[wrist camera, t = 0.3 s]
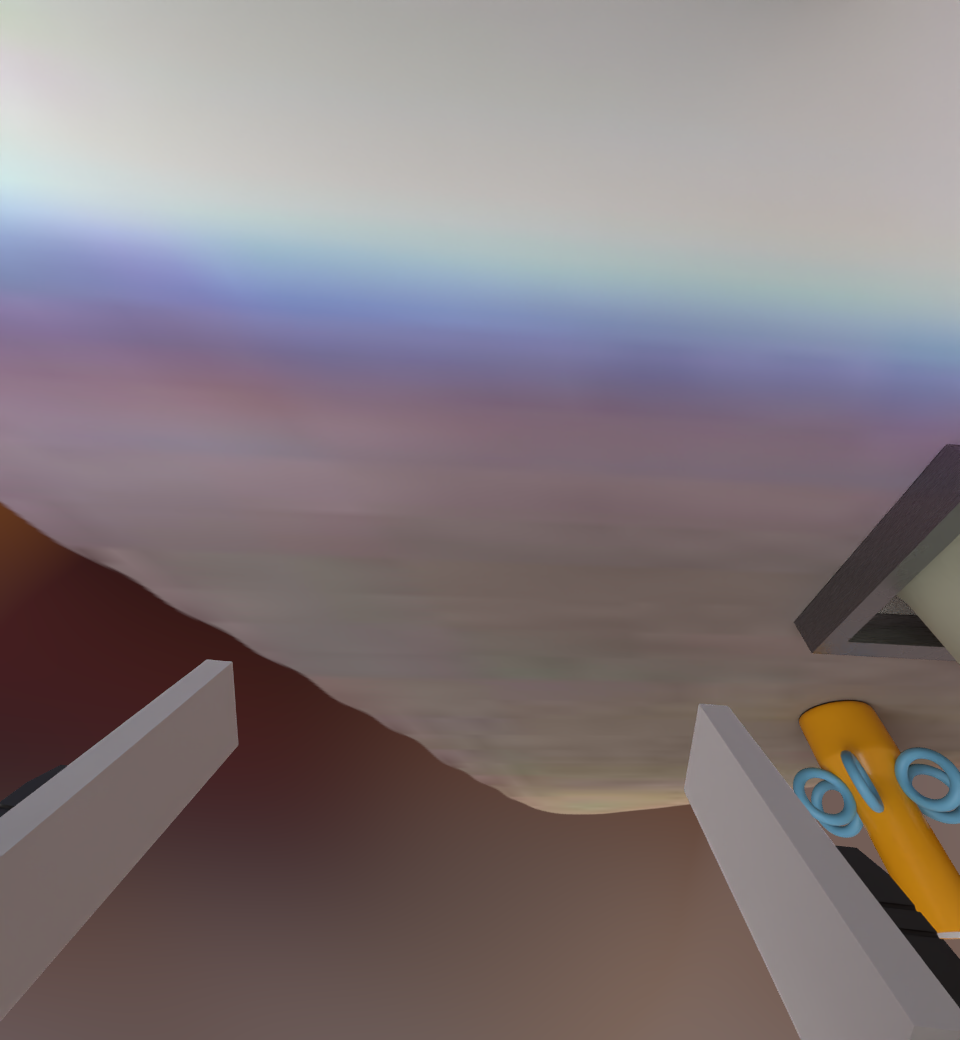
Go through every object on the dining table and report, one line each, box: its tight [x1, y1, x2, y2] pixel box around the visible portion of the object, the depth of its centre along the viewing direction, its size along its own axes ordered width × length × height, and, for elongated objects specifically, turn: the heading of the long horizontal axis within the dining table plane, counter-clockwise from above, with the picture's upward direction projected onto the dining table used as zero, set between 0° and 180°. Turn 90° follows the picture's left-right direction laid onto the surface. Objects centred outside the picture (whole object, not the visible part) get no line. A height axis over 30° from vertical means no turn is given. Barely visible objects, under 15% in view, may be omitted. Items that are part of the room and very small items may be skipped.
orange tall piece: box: [793, 701, 960, 939], centre depth 36 cm, size 12×10×15 cm
